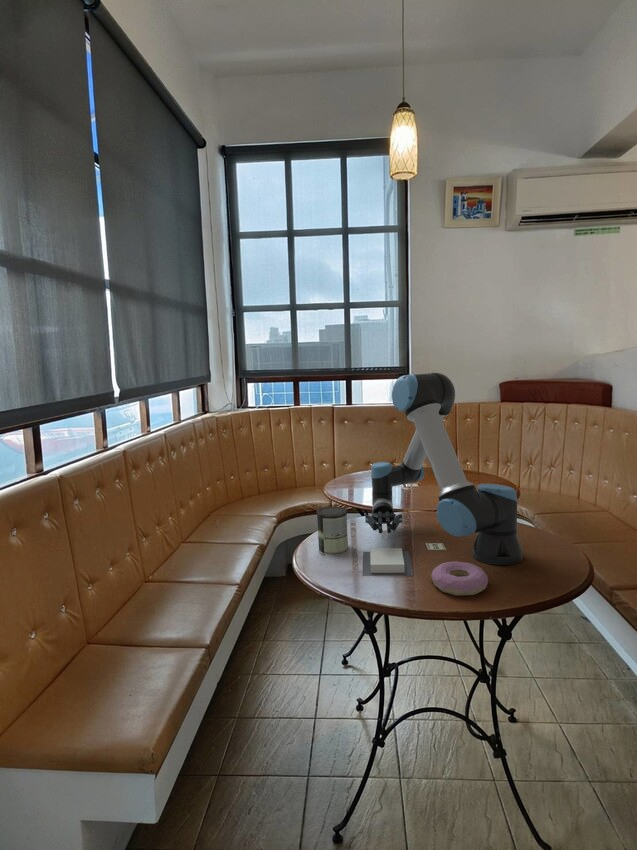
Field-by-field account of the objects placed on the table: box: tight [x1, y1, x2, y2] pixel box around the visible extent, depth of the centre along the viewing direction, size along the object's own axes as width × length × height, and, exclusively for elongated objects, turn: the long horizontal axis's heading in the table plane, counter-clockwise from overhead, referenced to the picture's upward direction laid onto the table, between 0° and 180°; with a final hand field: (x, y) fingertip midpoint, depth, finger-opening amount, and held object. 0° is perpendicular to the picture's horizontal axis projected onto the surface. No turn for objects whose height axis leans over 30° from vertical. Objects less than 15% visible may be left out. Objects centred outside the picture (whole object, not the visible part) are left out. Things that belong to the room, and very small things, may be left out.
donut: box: [430, 561, 489, 597], centre depth 142 cm, size 16×15×5 cm
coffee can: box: [316, 506, 349, 556], centre depth 172 cm, size 10×10×14 cm
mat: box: [361, 550, 415, 577], centre depth 158 cm, size 15×19×1 cm
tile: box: [369, 547, 405, 573], centre depth 157 cm, size 10×3×13 cm
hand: (385, 534), depth 157 cm, fingers closed
